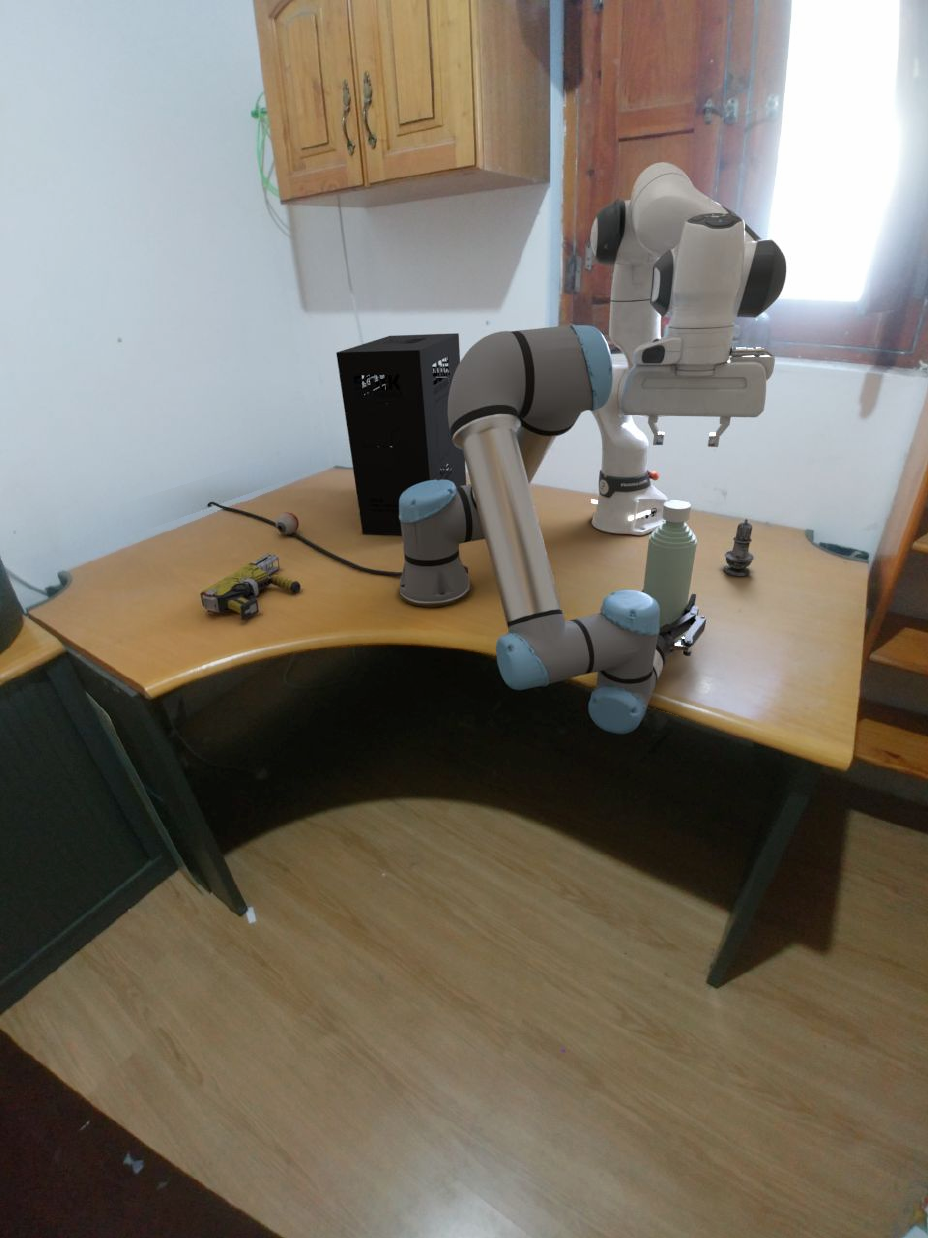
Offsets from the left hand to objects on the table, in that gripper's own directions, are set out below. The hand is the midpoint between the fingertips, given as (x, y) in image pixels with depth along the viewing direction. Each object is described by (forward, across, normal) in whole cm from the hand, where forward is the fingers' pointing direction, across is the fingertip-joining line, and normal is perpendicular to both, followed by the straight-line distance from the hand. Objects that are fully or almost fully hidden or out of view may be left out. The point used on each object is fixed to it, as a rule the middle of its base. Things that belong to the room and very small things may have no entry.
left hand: (669, 596), depth 112 cm
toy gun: (-21, -83, -6) cm, 85 cm away
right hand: (-5, 0, +29) cm, 29 cm away
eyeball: (+9, -102, -6) cm, 103 cm away
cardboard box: (+38, -78, -6) cm, 87 cm away
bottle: (-5, 0, -6) cm, 8 cm away
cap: (-5, 0, +19) cm, 20 cm away
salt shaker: (+28, +9, -6) cm, 30 cm away
